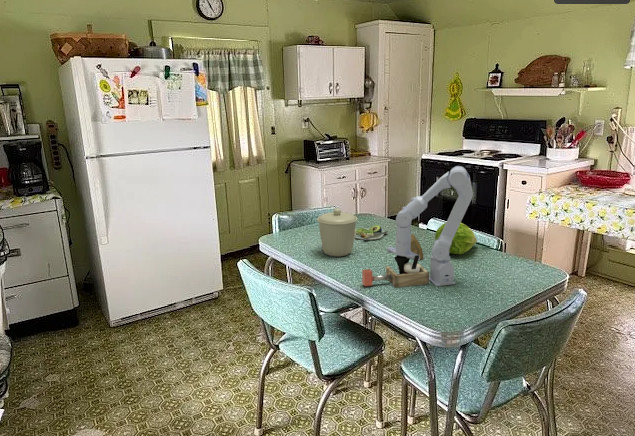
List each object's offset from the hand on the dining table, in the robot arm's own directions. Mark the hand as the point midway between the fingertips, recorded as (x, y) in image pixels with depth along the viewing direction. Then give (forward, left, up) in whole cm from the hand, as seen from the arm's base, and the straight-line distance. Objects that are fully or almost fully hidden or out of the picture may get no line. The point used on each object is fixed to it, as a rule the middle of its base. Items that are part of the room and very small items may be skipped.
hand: (401, 273), depth 181 cm
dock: (-4, 0, -1) cm, 4 cm away
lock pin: (-5, +12, -1) cm, 13 cm away
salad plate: (+56, -5, -2) cm, 56 cm away
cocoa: (-4, -2, -1) cm, 5 cm away
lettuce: (+21, -36, -1) cm, 41 cm away
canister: (+34, +17, -1) cm, 38 cm away
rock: (+20, -13, -2) cm, 23 cm away
